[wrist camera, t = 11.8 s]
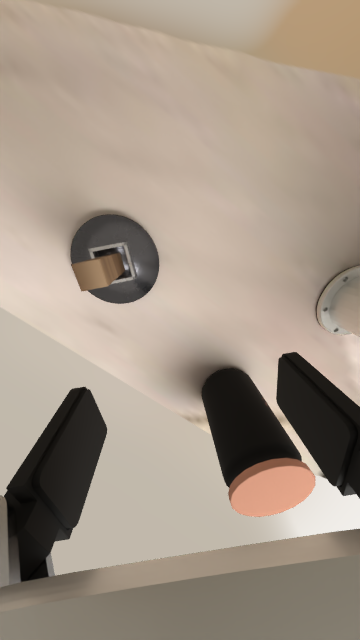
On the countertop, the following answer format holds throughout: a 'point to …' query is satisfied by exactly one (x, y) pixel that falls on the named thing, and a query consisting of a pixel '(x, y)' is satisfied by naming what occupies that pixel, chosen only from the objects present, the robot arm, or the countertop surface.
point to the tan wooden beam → (98, 271)
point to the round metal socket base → (135, 252)
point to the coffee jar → (253, 447)
